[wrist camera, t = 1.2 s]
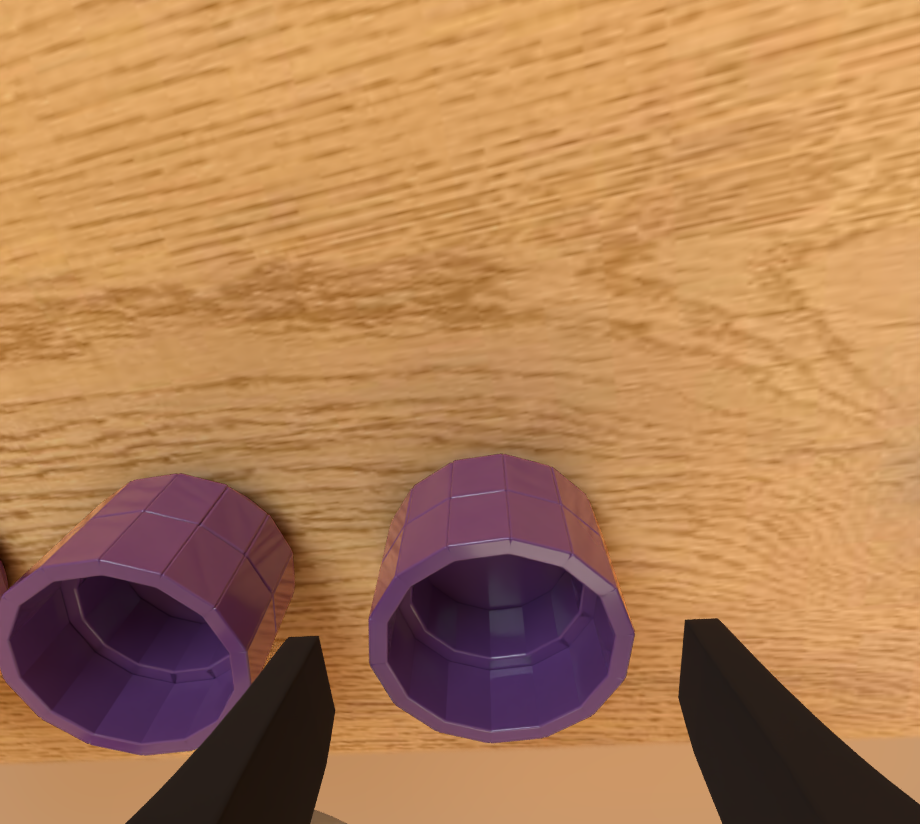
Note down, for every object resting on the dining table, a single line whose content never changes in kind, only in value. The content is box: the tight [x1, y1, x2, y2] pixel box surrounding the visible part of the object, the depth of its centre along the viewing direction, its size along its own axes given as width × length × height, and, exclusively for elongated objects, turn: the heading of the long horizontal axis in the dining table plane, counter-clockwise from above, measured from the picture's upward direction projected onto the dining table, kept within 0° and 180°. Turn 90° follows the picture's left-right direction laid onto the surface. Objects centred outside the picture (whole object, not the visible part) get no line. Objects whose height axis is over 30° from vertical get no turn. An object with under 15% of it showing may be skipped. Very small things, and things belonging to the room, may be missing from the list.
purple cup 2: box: [369, 454, 635, 743], centre depth 14 cm, size 5×6×4 cm
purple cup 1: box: [0, 473, 295, 756], centre depth 15 cm, size 5×6×4 cm
